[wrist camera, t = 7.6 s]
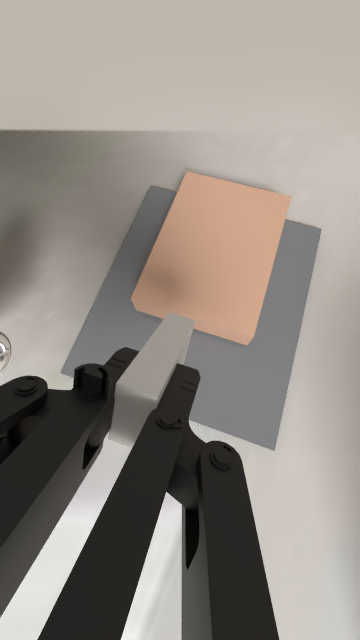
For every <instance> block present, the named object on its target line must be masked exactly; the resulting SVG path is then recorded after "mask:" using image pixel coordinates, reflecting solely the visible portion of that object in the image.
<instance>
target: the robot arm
mask: <svg viewBox="0 0 360 640" xmlns="http://www.w3.org/2000/svg"><path fill="white" fill-rule="evenodd" d="M194 324H195V320H193V319H190V318H187V317H184V316H180V315H177V314H174V313H170V312H169V313H168V314H167V316H166V317H165V318H164V320H163V321H162V322H161V324H160V325H159V326H158V328H157V329H156V330H155V332H154V333H153V334H152V336H151V337H150V338H149V340H148V341H147V342H146V344H145V345H144V346H143V348H142V349H141V351H137V350H134V349H131V348H128V347H124V348H122V349H120V350H117V351H116V352H115V353H114V354H113V355H112V356H111V358H110V359H109V360H108V361H107V362H106V364H104V365H100V364H95V363H88V364H83V365H80V366H78V367H77V368H75V369H74V385H73V389H72V390H54V389H48V386H47V382H46V381H45V380H44V379H42V378H40V377H37V376H23V377H19V378H16V379H13V380H11V381H9V382H7V383H5V384H4V385H2V386H0V617H1V616H2V614H3V612H4V611H5V609H6V607H7V606H8V604H9V602H10V601H11V599H12V597H13V596H14V594H15V592H16V591H17V589H18V587H19V586H20V584H21V582H22V581H23V579H24V577H25V576H26V574H27V572H28V571H29V569H30V567H31V566H32V564H33V563H34V561H35V559H36V558H37V556H38V554H39V553H40V551H41V549H42V548H43V546H44V544H45V543H46V541H47V539H48V538H49V536H50V534H51V533H52V531H53V529H54V528H55V526H56V524H57V523H58V521H59V519H60V518H61V516H62V514H63V513H64V511H65V510H66V508H67V506H68V505H69V503H70V501H71V500H72V498H73V496H74V495H75V493H76V491H77V490H78V488H79V486H80V485H81V483H82V481H83V480H84V478H85V476H86V475H87V473H88V471H89V470H90V468H91V466H92V465H93V463H94V461H95V460H96V458H97V457H98V455H99V453H100V452H101V449H102V446H103V441H104V438H105V436H106V434H107V433H108V431H109V437H108V439H110V440H113V441H116V442H118V443H121V444H124V445H126V446H129V447H132V450H131V452H130V454H129V456H128V458H127V460H126V462H125V464H124V466H123V468H122V470H121V472H120V474H119V476H118V478H117V480H116V482H115V484H114V486H113V488H112V490H111V492H110V494H109V496H108V498H107V500H106V502H105V504H104V506H103V508H102V510H101V512H100V514H99V516H98V518H97V520H96V522H95V525H94V527H93V529H92V531H91V533H90V535H89V537H88V539H87V541H86V543H85V545H84V547H83V549H82V551H81V553H80V555H79V557H78V559H77V561H76V563H75V565H74V567H73V569H72V571H71V573H70V575H69V577H68V579H67V581H66V583H65V585H64V587H63V589H62V591H61V593H60V595H59V597H58V599H57V601H56V603H55V605H54V607H53V609H52V612H51V614H50V616H49V618H48V620H47V622H46V624H45V626H44V628H43V630H42V632H41V634H40V636H39V638H38V640H121V637H122V634H123V630H124V627H125V624H126V621H127V617H128V614H129V611H130V608H131V604H132V601H133V598H134V595H135V591H136V588H137V585H138V581H139V578H140V575H141V572H142V568H143V565H144V562H145V559H146V555H147V552H148V549H149V546H150V542H151V539H152V536H153V533H154V529H155V526H156V523H157V520H158V516H159V513H160V510H161V507H162V503H163V500H164V497H165V494H166V492H168V493H169V494H170V495H171V496H172V497H174V498H175V499H176V500H177V501H178V502H180V503H181V504H182V640H279V636H278V631H277V627H276V622H275V617H274V612H273V607H272V603H271V598H270V593H269V588H268V583H267V579H266V574H265V569H264V564H263V560H262V555H261V550H260V545H259V540H258V536H257V531H256V526H255V521H254V516H253V512H252V507H251V502H250V497H249V492H248V488H247V483H246V478H245V473H244V468H243V464H242V460H241V458H240V455H239V454H238V453H237V451H236V450H235V449H234V448H233V447H231V446H230V445H228V444H227V443H224V442H221V441H210V442H208V443H205V442H204V441H202V440H201V439H200V438H198V437H197V436H196V435H195V434H194V433H193V431H192V430H191V428H190V426H189V415H190V412H191V409H192V405H193V402H194V399H195V395H196V392H197V389H198V385H199V382H200V379H201V377H200V374H199V370H197V369H194V368H191V367H188V366H185V365H183V363H184V361H185V357H186V354H187V350H188V346H189V342H190V339H191V335H192V331H193V327H194Z"/></svg>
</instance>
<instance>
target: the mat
mask: <svg viewBox="0 0 360 640" xmlns="http://www.w3.org/2000/svg"><path fill="white" fill-rule="evenodd" d="M176 194H177V192H174V191H170V190H166V189H162V188H158V187H154V186H150V188H149V191H148V193H147V195H146V197H145V199H144V201H143V203H142V205H141V207H140V209H139V211H138V213H137V215H136V217H135V219H134V222H133V224H132V226H131V228H130V230H129V232H128V234H127V236H126V238H125V240H124V242H123V244H122V246H121V248H120V251H119V253H118V255H117V257H116V259H115V261H114V263H113V265H112V267H111V269H110V271H109V273H108V275H107V277H106V279H105V282H104V284H103V286H102V288H101V290H100V292H99V294H98V296H97V298H96V300H95V302H94V304H93V306H92V308H91V310H90V313H89V315H88V317H87V319H86V321H85V323H84V325H83V327H82V329H81V331H80V333H79V335H78V337H77V339H76V342H75V344H74V346H73V348H72V350H71V352H70V354H69V356H68V358H67V360H66V362H65V364H64V366H63V368H62V370H61V373H62V374H65V375H67V376H70V377H73V378H74V369H75V368H77V367H78V366H80V365H83V364H88V363H95V364H100V365H104V364H106V362H107V361H108V360H109V359H110V358H111V356H112V355H113V354H114V353H115V352H116V351H117V350H120V349H122V348H124V347H128V348H131V349H134V350H137V351H141V349H142V348H143V346H144V345H145V344H146V342H147V341H148V340H149V338H150V337H151V336H152V334H153V333H154V332H155V330H156V329H157V328H158V326H159V325H160V324H161V322H162V321H163V320H164V319H162V318H159V317H156V316H153V315H149V314H146V313H143V312H140V311H137V310H136V309H135V307H134V305H133V302H132V300H131V297H132V295H133V292H134V290H135V288H136V285H137V283H138V281H139V279H140V276H141V274H142V272H143V269H144V267H145V265H146V263H147V260H148V258H149V256H150V254H151V251H152V249H153V247H154V244H155V242H156V240H157V238H158V235H159V233H160V231H161V228H162V226H163V224H164V222H165V219H166V217H167V215H168V213H169V210H170V208H171V206H172V203H173V201H174V199H175V197H176ZM320 234H321V229H319V228H315V227H311V226H307V225H303V224H299V223H295V222H291V221H287V220H285V222H284V226H283V229H282V233H281V237H280V241H279V244H278V248H277V252H276V256H275V259H274V263H273V267H272V271H271V274H270V278H269V282H268V286H267V289H266V293H265V297H264V301H263V304H262V308H261V312H260V316H259V319H258V323H257V327H256V331H255V334H254V337H253V339H252V340H251V341H250V342H249V344H248V345H244V344H241V343H237V342H234V341H231V340H228V339H225V338H222V337H219V336H215V335H212V334H209V333H206V332H203V331H200V330H197V329H193V331H192V335H191V339H190V342H189V346H188V350H187V354H186V357H185V361H184V363H183V365H185V366H188V367H191V368H194V369H197V370H199V374H200V377H201V379H200V382H199V385H198V389H197V392H196V395H195V399H194V402H193V405H192V409H191V412H190V415H189V420H191V421H194V422H197V423H200V424H202V425H205V426H208V427H211V428H213V429H216V430H219V431H222V432H224V433H227V434H230V435H233V436H235V437H238V438H241V439H244V440H247V441H249V442H252V443H255V444H258V445H260V446H263V447H266V448H269V449H271V450H275V446H276V441H277V436H278V431H279V427H280V422H281V417H282V413H283V408H284V403H285V398H286V394H287V389H288V384H289V380H290V375H291V370H292V366H293V361H294V356H295V351H296V347H297V342H298V337H299V333H300V328H301V323H302V318H303V314H304V309H305V304H306V300H307V295H308V290H309V285H310V281H311V276H312V271H313V267H314V262H315V257H316V252H317V248H318V243H319V238H320Z"/></svg>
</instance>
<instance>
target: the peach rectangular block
mask: <svg viewBox="0 0 360 640" xmlns="http://www.w3.org/2000/svg"><path fill="white" fill-rule="evenodd" d="M290 200H291V196H287V195H283V194H279V193H275V192H271V191H267V190H262V189H258V188H254V187H250V186H246V185H242V184H238V183H234V182H230V181H225V180H221V179H217V178H213V177H209V176H205V175H201V174H197V173H193V172H188V171H187V172H186V174H185V176H184V178H183V181H182V183H181V185H180V187H179V190H178V192H177V194H176V197H175V199H174V201H173V203H172V206H171V208H170V210H169V213H168V215H167V217H166V219H165V222H164V224H163V226H162V228H161V231H160V233H159V235H158V238H157V240H156V242H155V244H154V247H153V249H152V251H151V254H150V256H149V258H148V260H147V263H146V265H145V267H144V269H143V272H142V274H141V276H140V279H139V281H138V283H137V285H136V288H135V290H134V292H133V295H132V297H131V300H132V302H133V305H134V307H135V309H136V310H137V311H140V312H143V313H146V314H149V315H153V316H156V317H159V318H162V319H164V318H165V317H166V316H167V314H168V313H169V312H170V313H174V314H177V315H180V316H184V317H187V318H190V319H193V320H195V324H194V327H193V329H197V330H200V331H203V332H206V333H209V334H212V335H215V336H219V337H222V338H225V339H228V340H231V341H234V342H237V343H241V344H244V345H248V344H249V342H250V341H251V340H252V339H253V337H254V334H255V331H256V327H257V323H258V319H259V316H260V312H261V308H262V304H263V301H264V297H265V293H266V289H267V286H268V282H269V278H270V274H271V271H272V267H273V263H274V259H275V256H276V252H277V248H278V244H279V241H280V237H281V233H282V229H283V226H284V222H285V218H286V215H287V211H288V207H289V203H290Z"/></svg>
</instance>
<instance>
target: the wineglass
mask: <svg viewBox="0 0 360 640" xmlns="http://www.w3.org/2000/svg"><path fill="white" fill-rule="evenodd" d="M10 353H11V349H10V344H9V342H8V340H7V339H6V337H5V336H3V335H2V334H0V372H1V371H2V370H3V369H4V368H5V366H6V365H7V363H8V361H9V358H10Z"/></svg>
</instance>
